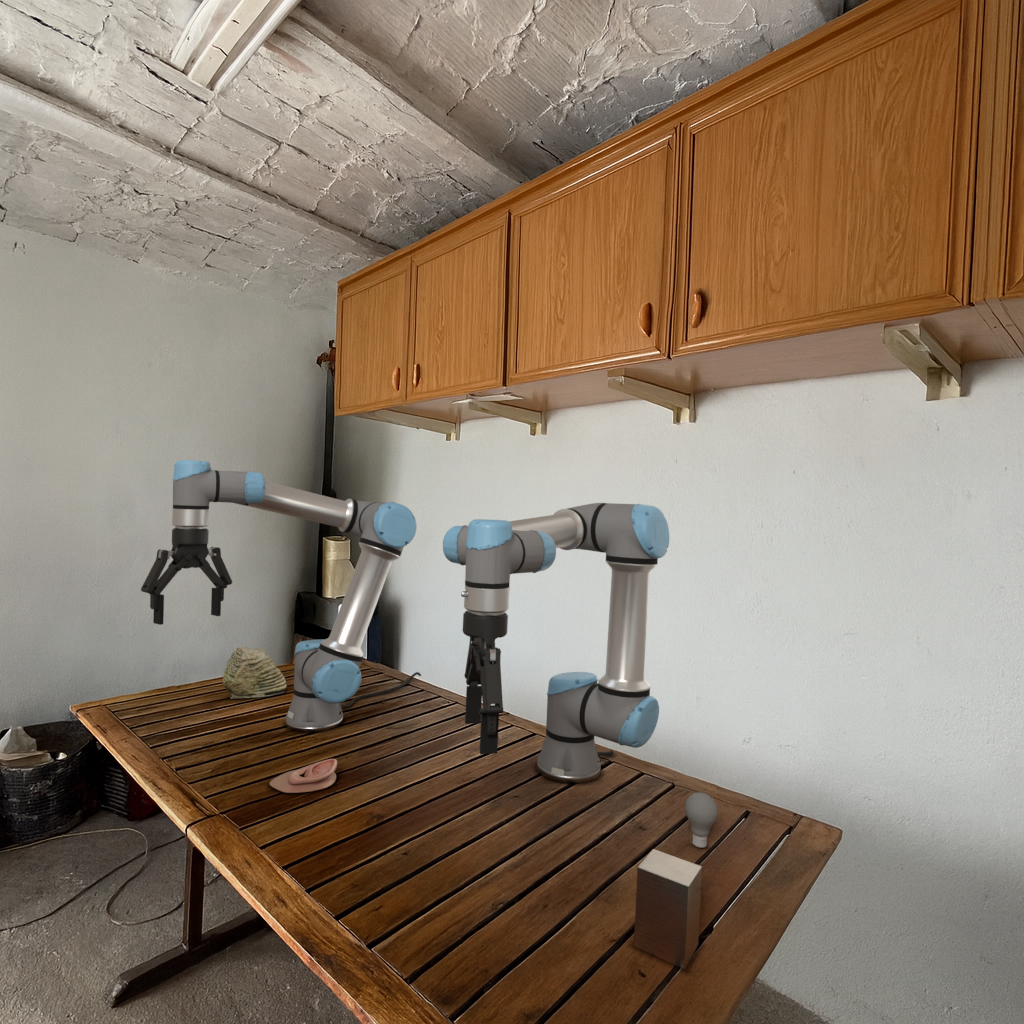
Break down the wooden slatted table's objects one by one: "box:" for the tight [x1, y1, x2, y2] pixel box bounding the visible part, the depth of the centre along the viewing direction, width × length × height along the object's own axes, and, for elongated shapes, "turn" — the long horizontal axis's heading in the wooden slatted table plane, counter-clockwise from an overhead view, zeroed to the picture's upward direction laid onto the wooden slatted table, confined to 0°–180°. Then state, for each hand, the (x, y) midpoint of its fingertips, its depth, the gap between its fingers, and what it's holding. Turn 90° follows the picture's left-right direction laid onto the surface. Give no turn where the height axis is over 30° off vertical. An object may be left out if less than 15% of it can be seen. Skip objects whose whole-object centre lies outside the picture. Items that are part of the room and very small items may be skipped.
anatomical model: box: [269, 758, 338, 794], centre depth 140 cm, size 13×4×12 cm
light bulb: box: [684, 792, 719, 849], centre depth 120 cm, size 6×6×10 cm
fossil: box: [222, 646, 288, 699], centre depth 198 cm, size 9×18×15 cm, turn 132°
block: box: [633, 848, 703, 970], centre depth 93 cm, size 6×8×12 cm
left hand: (188, 619), depth 146 cm, fingers open, 13 cm apart
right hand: (480, 737), depth 107 cm, fingers open, 13 cm apart
